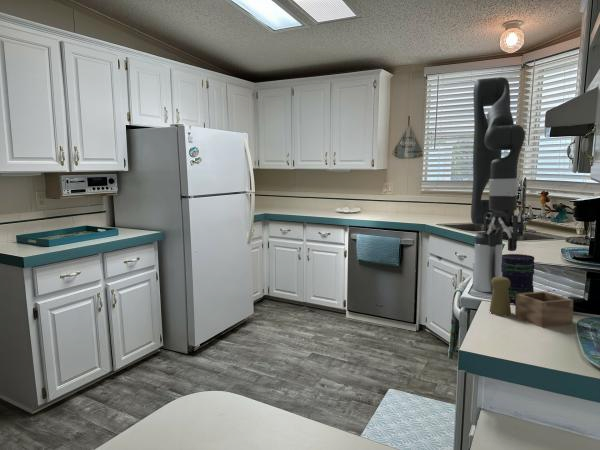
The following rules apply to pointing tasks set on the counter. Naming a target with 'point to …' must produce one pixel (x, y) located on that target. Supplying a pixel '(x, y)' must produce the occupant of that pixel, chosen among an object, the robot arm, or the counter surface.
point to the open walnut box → (544, 309)
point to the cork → (500, 296)
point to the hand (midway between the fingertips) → (501, 248)
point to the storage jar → (518, 274)
